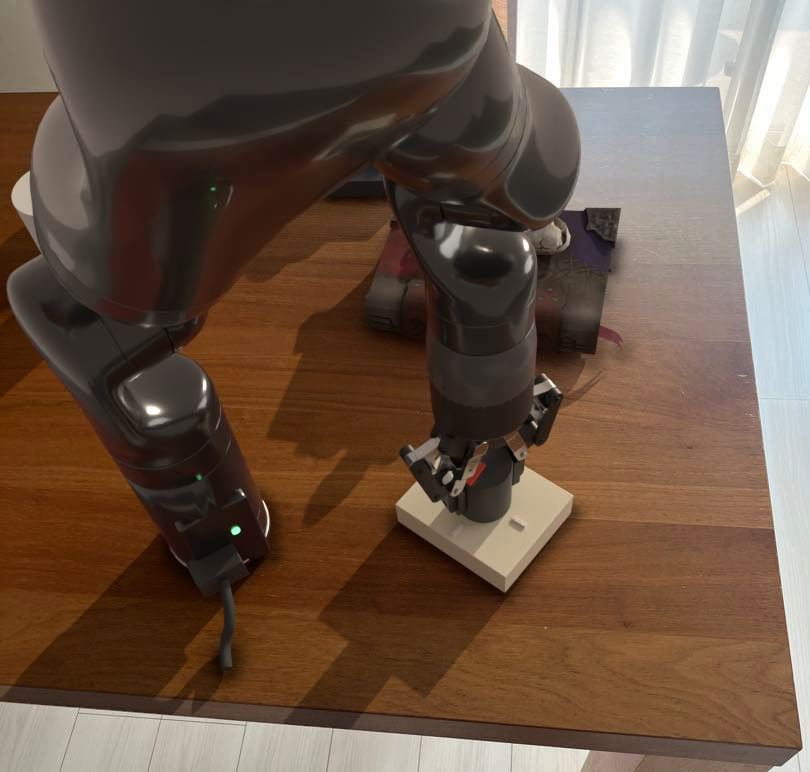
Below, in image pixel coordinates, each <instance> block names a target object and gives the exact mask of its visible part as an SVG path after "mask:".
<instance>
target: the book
mask: <svg viewBox="0 0 810 772" xmlns="http://www.w3.org/2000/svg"><path fill="white" fill-rule="evenodd" d="M621 211H622V207H585V208H584V209H583V210H571V209H569V210H568V209H564V210H563V212H562V213H561V214H560V215H559V216H558V218H557V219H555V220H554V221H553V222H552V223H551V224H549V225H548V226H546V227H544V228H542V229H540V230H537V231H533V232H523V233H524V234H525V235H526V236H527V237H528V238H529V239H530V241H531V242H532V244H533V246H534V248H535V251H536V255H537V264H538V273H537V288H536V304H535V325H536V333H537V348H536V353H542V354H549V355H550V354H551V355H557V353H558V352H565V353H566V352H567V353H573V354H584V355H593V356H595V355H596V352H597V346H598V342H599V341H598V340H599V338H601V339H603V340H606V341H609V342H611V343H613V344H616V345H617V346H618V348H619V349H620V350H621V351H623V348H622V345H621V343H623V344H624V341H623V338H622V337H621V335H620V334H619V333H618V332H616V330H613V329H611V328H608V327H605V326H603V325H601V320H602V316H603V309H604V301H605V296H606V289H607V283H608V277H609V273H612V270H613V269H612V268H613V262H614V256H615V249H616V243H617V237H618V231H619V226H620V225H619V224H620V218H621ZM389 228H390V231H389V233H388V234H389V235H388V237H387V240H386V243H385V245H384V248H383V251H382V254H381V256H380V259H379V262H378V265H377V269H376V270H375V273H374V275H373V279H372V282H371V285H370V288H369V291H368V293H367V294H366V296H365V299H366V302H365V320H366V326H367V328H368V329H371V330H372V329H373V330H381V331H389V332H397V333H402V335H403V337H405V338H415V339H425V340H426V332H427V308H426V296H425V287H424V279H423V277H422V274H421V272H420V270H419V268H418V266H417V263H416V261H415V258H414V256H413V254H412V252H411V250H410V247H409V245H408V243H407V241H406V239H405V237H404V235H403V233H402V231H401V229H400V227H399V225H398V223H397V221H396V219H395V217H394V214H393V212H392V211H391V216H390V219H389Z"/></svg>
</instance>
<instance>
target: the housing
mask: <svg viewBox="0 0 810 772" xmlns="http://www.w3.org/2000/svg"><path fill="white" fill-rule="evenodd" d="M327 197H328V198H375V197H377V198H379V197H387V196H386V193H385V189H384V185H383V181H382V176H381V172H379V171H378V170H377V169H376V168H374V167H373V166H370V167H369V168H368V169H366V170H365V171H363V172H362V173H360V174H359V175H357V176H356V177H354V178H353V179H351V180H350V181H348V182H347V183H346V184H344V185H343V186H341V187H340V188H338V189H337V190H335V191H334V192H332V193H331V194H329V195H328V196H327Z"/></svg>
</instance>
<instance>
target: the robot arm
mask: <svg viewBox="0 0 810 772" xmlns="http://www.w3.org/2000/svg"><path fill="white" fill-rule="evenodd" d="M27 1H28V5H29V8H30V12H31V17H32V19H33V22H34V26H35V30H36V33H37V37H38V40H39V43H40V47H41V49H42V52H43V55H44V58H45V61H46V64H47V67H48V70H49V71H50V74H51V77H52V79H53V82H54V84H55V87H56V89H57V91H58V95H57V96H56V98H55V99H54V100H53V101H52V102H51V103H50V104H49V106H48V108H47V109H46V112H45V113H44V115H43V116H42V120H41V121H40V123H39V125H38V127H37V130H36V133H35V138H34V142H33V146H32V149H31V154H30V160H29V161H30V162H29V163H30V164H29V171H30V193H31V202H32V211H33V219H34V226H35V231H36V236H37V239H38V243H39V246H40V249H41V251H42V253H40V254H37V255H36V256H34V257H33V258H31V259H30V260H28V261H26V262H24V263H22V265H20V266H18V267H16V268H15V269H14V270H13V271H12V272H11V273H10V274H9V275H8V276H7V279H6V287H5V291H6V296H7V301H8V303H9V307H10V309H11V311H12V313H13V315H14V317H15V319H16V321H17V324H18V325H19V326H20V328H21V330H22V332H23V333H24V334H25V336H26V338H28V340H29V341H30V343H31V344H32V346H33V347H34V349H35V350H36V352H38V355H39V356H40V357H41V358H42V360H43V361H44V362H45V363H46V365H47V366H48V367H49V368H50V370H51V372H53V374H54V375H55V376H56V377H57V379H58V380H59V381H60V383H61V384H62V386H63V387H64V388H65V389H66V391H67V392H68V393H69V395H70V396H71V397H72V398H73V400H74V401H75V403H76V404H77V406H78V408H79V409H80V411H81V412H82V414H83V415H84V417H85V419H86V420H87V421H88V423H89V425H90V426H91V427H92V429H93V430H94V432H95V435H96V436H97V437H98V439H99V441H100V442H101V443H102V445H103V447H104V448H105V449H106V452H108V454H109V456H110V457H111V459H112V460H113V462H114V463H115V466H117V468H118V470H119V471H120V473H121V474H122V476H123V478H124V479H125V481H126V482H127V484H128V485H129V487H130V489H131V490H132V491H133V493H134V494H135V496H136V498H137V499H138V500H139V502H140V503H141V506H143V507H142V508H143V509H144V510H145V511H146V513H147V514H148V516H149V517H150V519H151V521H152V522H153V524H154V525H155V526H156V528H157V529H158V531H159V533H160V535H161V536H162V537H163V539H164V540H165V541H166V543H167V545H168V546H169V549H170V552H171V553H172V555H174V557H175V559H176V560H177V561H178V563H179V564H180V565H181V566H182V567H183V568H185V569H187V570H188V571H189V573H190V575H191V577H192V579H193V581H194V583H195V584H196V587H197V588H198V590H199V591H200V593H201V594H202V596H203V597H204V599H207V598H209V597H210V596H212V595H214V594H216V593H217V592H219V593H220V599H221V603H222V609H223V628H222V631H221V635H220V639H219V660H220V670H221V671H223V672H227V671H228V672H229V671H231V670H232V669H233V659H232V639H233V636H234V633H235V629H236V609H235V603H234V597H233V592H232V588H231V585H232V584H234V583H236V582H238V581H240V580H241V579H244V578H245V577H247V576H249V575H250V573H249V570H248V569H247V566H248V565H250V564H252V563H254V562H255V561H257V560H259V559H261V558H263V557H264V556H266V555H268V554H270V553H271V552H272V548H271V546H270V543H269V538H270V534H271V528H272V520H271V515H270V512H269V510H268V507H267V505H266V503H265V501H264V500H263V498H262V496H261V493H260V491H259V488H258V487H257V485H256V482H255V480H254V478H253V475H252V473H251V471H250V468H249V466H248V464H247V461H246V458H245V456H244V454H243V452H242V449H241V447H240V444H239V442H238V440H237V437H236V436H235V433H234V431H233V428H232V426H231V423H230V421H229V418H228V416H227V414H226V412H225V408H224V407H223V404H222V402H221V400H220V397H219V394H218V392H217V389H216V387H215V385H214V382H213V380H212V378H211V376H210V375H209V373H208V372H207V370H206V369H204V367H203V366H202V365H201V364H200V363H199V362H198V361H197V360H195V359H193V358H192V357H190V356H188V355H186V354H183V353H181V352H180V351H181V350H182V349H184V348H185V347H187V346H188V345H189V344H190V343H192V341H194V339H196V338H197V337H198V335H199V334H200V333H201V332H202V331H203V329H204V326H205V325H206V322H207V321H208V316H209V313H210V309H211V308H212V307H214V306H215V305H216V304H217V303H219V302H220V301H221V300H223V298H225V296H226V295H227V294H228V292H229V291H230V290H231V289H232V288H233V287H234V286H235V285H236V284H237V283H238V282H239V281H240V279H242V277H243V276H244V275H245V274H246V272H247V271H248V269H249V268H250V266H251V265H252V263H253V262H254V261H255V259H256V257H258V255H259V254H260V253H261V252H262V251H263V250H264V249H265V247H267V246H268V245H269V243H270V242H271V241H273V240H274V238H276V237H277V236H278V235H279V234H280V233H281V232H282V231H283V230H284V229H285V228H286V227H287V226H288V225H289V224H290V223H291V222H292V221H294V220H295V219H297V218H298V217H299V216H301V215H302V214H303V213H305V212H306V211H308V210H309V209H311V208H312V207H314V206H315V205H316V204H318V203H319V202H321V201H322V200H323V199H325V198H326V197H328V195H329V194H331V193H332V192H334V191H335V190H337V189H338V188H340V187H341V186H343V185H344V184H346V183H347V182H348V181H350V180H351V179H353V178H354V177H356V176H357V175H359V174H360V173H362V172H363V171H365V170H366V169H368V168H369V167H370V166H373V167H374V168H376V169H377V170H378V171H379V172H381V176H382V181H383V185H384V189H385V193H386V196H385V197H386V199H387V202H388V204H389V207H390V210H391V213H392V212H393V214H394V217H395V219H396V221H397V223H398V225H399V227H400V229H401V231H402V233H403V235H404V237H405V239H406V241H407V243H408V245H409V247H410V250H411V252H412V254H413V256H414V258H415V261H416V263H417V266H418V268H419V270H420V272H421V274H422V277H423V279H424V287H425V296H426V308H427V332H426V339H425V351H426V370H427V374H428V383H429V394H430V396H429V397H430V405H431V410H432V415H433V419H434V423H433V426H432V428H431V429H430V434H429V440H427V441H425V442H424V443H422V445H420V446H419V447H417V448H415V447H414V446H413V444H406V445H404V446H402V447H401V448H400V449H399V451H398V455H399V456H400V458H401V460H402V461H403V463H404V464H405V466H406V467H407V469H408V471H409V472H410V473H411V475H412V477H413V478H414V479H415V482H416V481H417V482H418V483H419V485H420V486H421V488H422V489H423V490H424V492H425V493H426V494H427V496H428V497H429V499H430V500H431V501H432V502H433V503H436V502H438V501H440V500H441V501H442V502H443V504H444V505H445V506H446V508H447V509H448V510H449V512H450V513H453V512H455V513H456V514H457V515H458V516H459V515H461V514H463V513H464V512H466V503H465V490H464V486H465V484H466V481H467V479H468V478H471V477H473V476H474V474H475V472H476V469H477V467H478V464H479V462H480V459H481V458H482V457H483V456H485V455H486V454H488V453H489V452H491V451H494V450H497V449H499V448H501V447H504V448H505V449H506V450H507V451H508V452H509V454H510V455H511V458H512V461H513V475H512V486H513V485H515V484H517V483H519V482H520V475H522V474H523V472H524V466H525V465H526V464H525V462H526V458H527V457H528V456H529V455H530V450H529V449H530V448H531V447H532V446H534V445H535V447H541V446H543V445H544V444H545V443H546V442H547V441H548V439H549V436H550V434H551V431H552V428H553V426H554V423H555V420H556V418H557V415H558V413H559V410H560V408H561V405H562V401H563V399H564V397H565V396H564V393H563V392H562V391H561V390H560V389H559V387H558V386H557V385H556V384H555V383H554V381H552V380H551V379H550V378H549V377H548V375H547V374H545V373H540V374H539V375H537V376H535V375H536V362H537V352H536V348H537V333H536V325H535V304H536V288H537V273H538V264H537V255H536V251H535V248H534V246H533V244H532V242H531V241H530V239H529V238H528V237H527V236H526V235H525V234H524V233H523V232H533V231H537V230H540V229H542V228H544V227H546V226H548V225H549V224H551V223H552V222H553V221H554V220H555V219H557V218H558V216H559V215H560V214H561V213H562V212H563V210H566V207H567V206H568V204H569V202H570V201H571V199H572V197H573V194H574V192H575V189H576V187H577V183H578V179H579V174H580V170H581V159H582V143H581V133H580V129H579V125H578V121H577V119H576V118H577V117H576V115H575V112H574V110H573V107H572V105H571V104H570V102H569V101H568V99H567V97H566V96H565V95H564V93H563V92H562V91H561V90H560V88H558V87H557V86H556V85H555V84H554V83H552V82H551V81H550V80H548V79H547V78H544V77H543V76H541V75H540V74H538V73H536V72H535V71H533V70H532V69H529V68H528V67H527V66H524V65H523V64H520V63H518V62H516V60H515V58H514V56H513V53H512V50H511V47H510V46H509V43H508V41H507V39H506V36H505V34H504V32H503V29H502V27H501V25H500V22H499V21H498V18H497V15H496V13H495V11H494V8H493V0H27ZM437 456H439V457H440V462H439V465H438V468H437V470H436V468H435V467H434V465H435V462H436V458H437ZM435 472H436V473H435ZM433 473H435V474H433Z"/></svg>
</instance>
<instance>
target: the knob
mask: <svg viewBox="0 0 810 772" xmlns="http://www.w3.org/2000/svg"><path fill="white" fill-rule="evenodd" d="M512 475H513V461H512V458H511V455H510V454H509V452H508V451H507V450H506V449H505V448H504V447H501V448H499V449H497V450H494V451H491V452H489V453H488V454H486V455H485V456H483V457H482V458H481V459H480V462H479V464H478V467H477V469H476V472H475V474H474V476H473V477H471V478H468V479H467V481H466V484H465V486H464V490H465V503H466V512H464V513H463V515H464V516H465V517H466V518H468V519H469V520H471V521H474V522H478V523H489V522H493V521H496V520H498V519H500V518H501V517H503V516H504V515H505V514H506V513H507V511H508V510H509V508H510V505H511V498H512Z"/></svg>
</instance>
